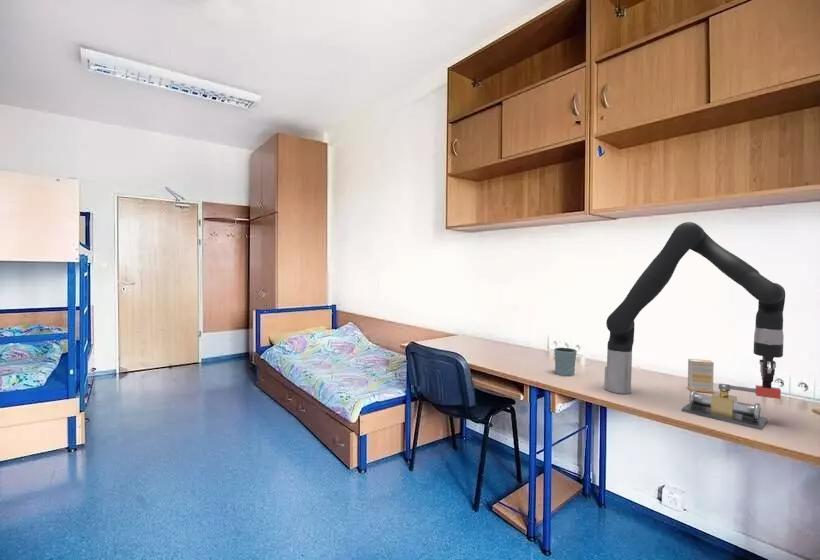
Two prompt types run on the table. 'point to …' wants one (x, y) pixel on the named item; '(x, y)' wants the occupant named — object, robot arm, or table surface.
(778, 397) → the valve lever
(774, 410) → the table surface
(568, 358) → the grey-green tapered cup
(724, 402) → the valve body
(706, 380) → the supplement box
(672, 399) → the table surface
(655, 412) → the table surface
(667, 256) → the robot arm
